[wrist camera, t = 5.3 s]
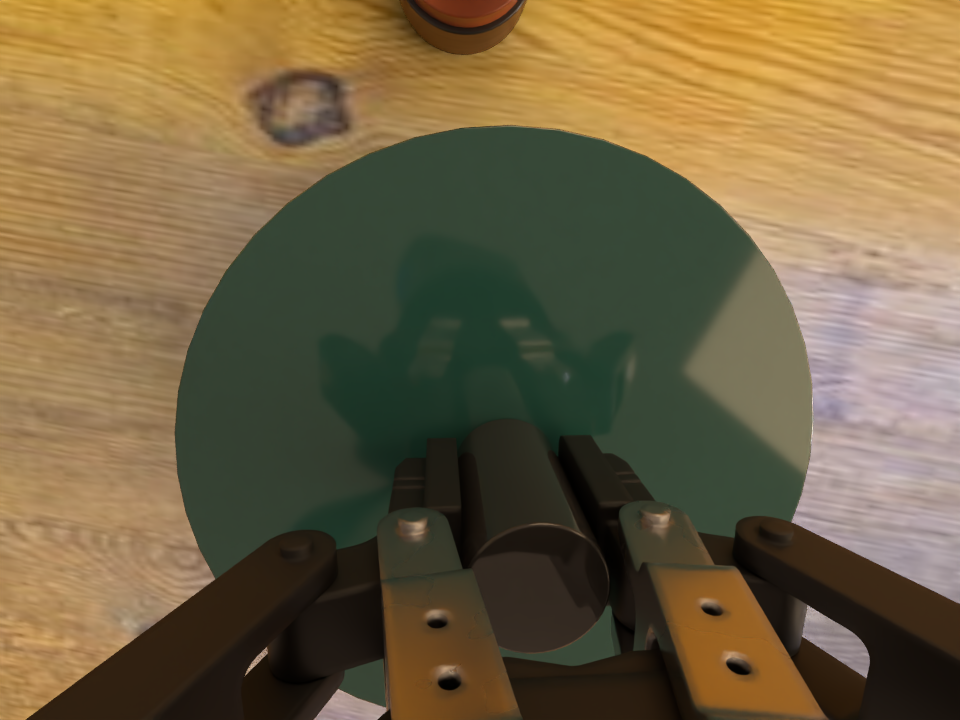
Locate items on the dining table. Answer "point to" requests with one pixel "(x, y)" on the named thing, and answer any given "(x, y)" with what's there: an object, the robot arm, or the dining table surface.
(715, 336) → the lid
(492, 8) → the brush
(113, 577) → the dining table surface
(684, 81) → the dining table surface
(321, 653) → the robot arm
